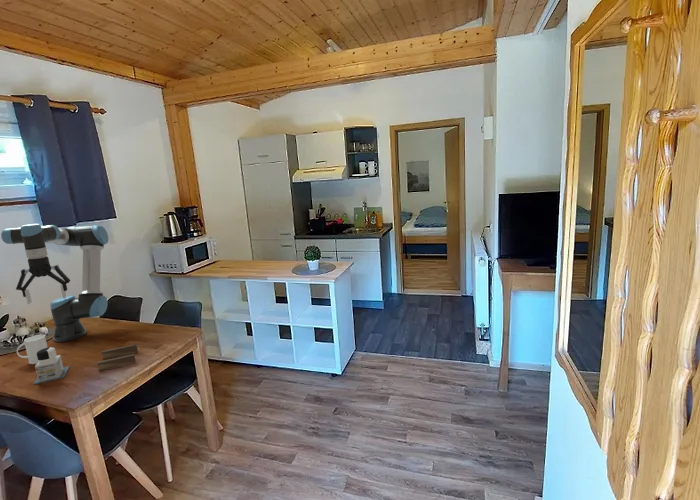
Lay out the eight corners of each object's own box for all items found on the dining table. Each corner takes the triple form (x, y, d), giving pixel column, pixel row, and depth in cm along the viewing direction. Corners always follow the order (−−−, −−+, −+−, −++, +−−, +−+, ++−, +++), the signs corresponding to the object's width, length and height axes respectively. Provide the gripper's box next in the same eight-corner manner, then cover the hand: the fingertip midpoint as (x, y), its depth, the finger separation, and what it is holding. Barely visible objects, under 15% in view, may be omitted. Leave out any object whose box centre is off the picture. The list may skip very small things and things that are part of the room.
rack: (103, 358, 185) (102, 351, 184) (137, 351, 191) (136, 343, 190) (98, 371, 172) (97, 363, 171) (135, 362, 178) (134, 355, 178)
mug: (19, 368, 179) (13, 345, 177) (21, 361, 186) (15, 339, 184) (50, 360, 186) (44, 338, 183) (51, 354, 193) (46, 332, 190)
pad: (41, 373, 173) (41, 372, 173) (69, 367, 178) (69, 365, 178) (33, 384, 163) (33, 383, 163) (64, 377, 168) (63, 376, 168)
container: (38, 382, 164) (31, 355, 161) (43, 374, 171) (37, 348, 168) (59, 377, 167) (53, 350, 165) (64, 369, 174) (58, 344, 172)
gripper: (0, 262, 165) (11, 307, 170) (68, 254, 176) (77, 297, 180) (6, 259, 172) (17, 303, 176) (71, 252, 182) (80, 293, 187)
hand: (47, 300), depth 178 cm, fingers open, 13 cm apart
